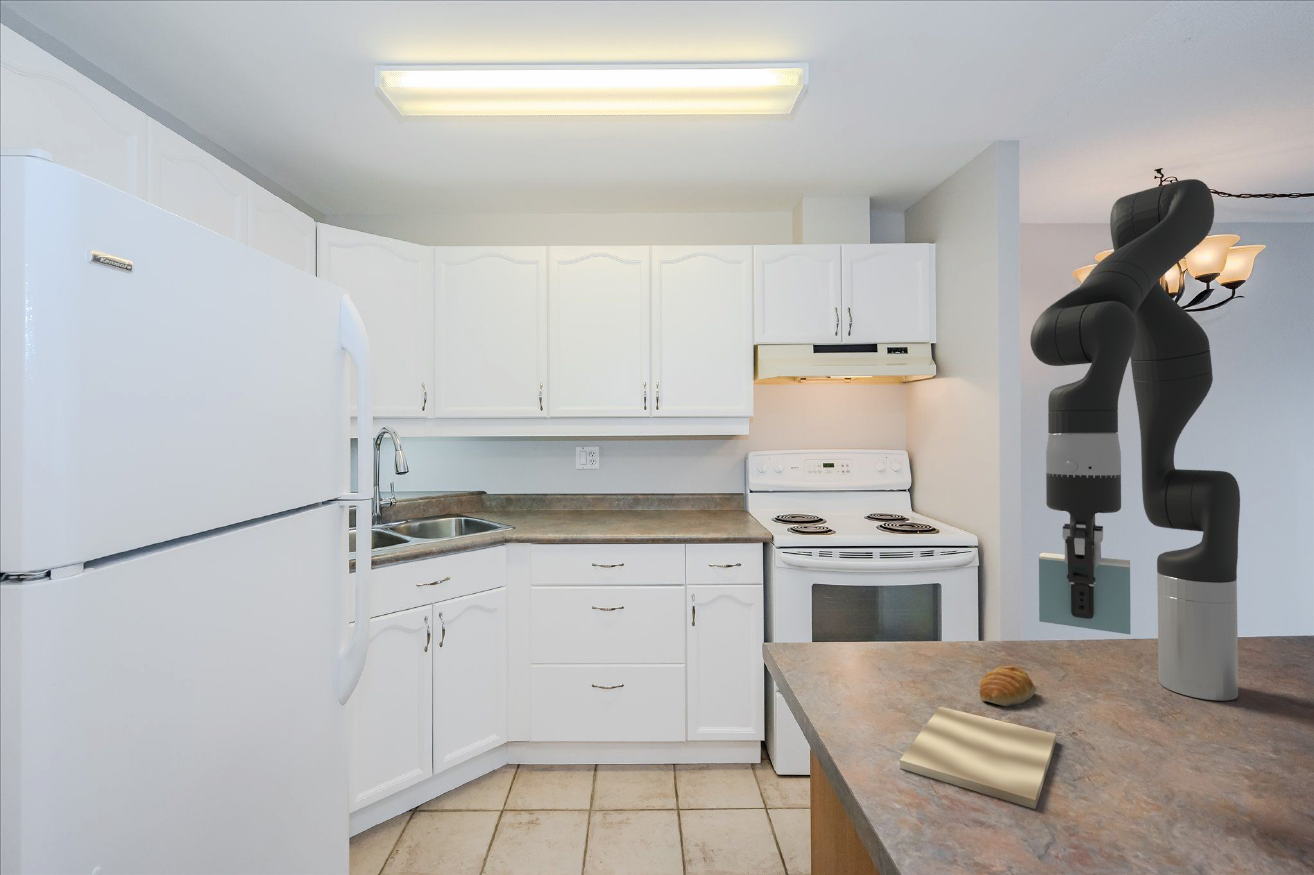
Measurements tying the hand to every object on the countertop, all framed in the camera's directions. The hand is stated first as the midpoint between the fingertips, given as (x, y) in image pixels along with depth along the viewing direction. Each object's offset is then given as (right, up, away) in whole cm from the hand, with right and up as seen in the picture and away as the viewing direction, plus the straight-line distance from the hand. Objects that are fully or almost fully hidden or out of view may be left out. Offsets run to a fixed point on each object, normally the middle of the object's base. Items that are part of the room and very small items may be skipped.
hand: (1083, 612), depth 77 cm
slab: (0, -1, 0) cm, 1 cm away
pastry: (+1, -18, +19) cm, 26 cm away
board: (-12, -18, +2) cm, 21 cm away
